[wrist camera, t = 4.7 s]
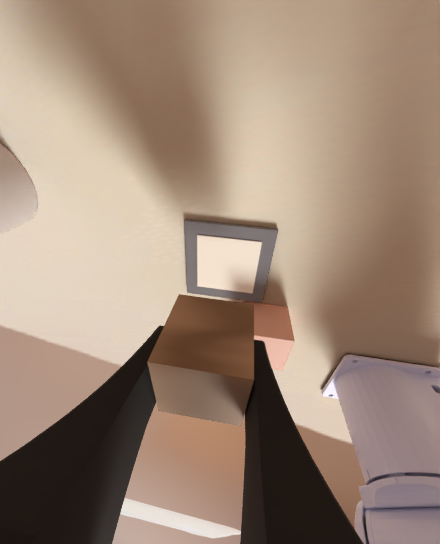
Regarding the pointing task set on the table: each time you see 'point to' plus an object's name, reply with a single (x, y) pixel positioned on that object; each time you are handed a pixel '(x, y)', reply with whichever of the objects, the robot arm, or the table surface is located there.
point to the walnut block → (205, 360)
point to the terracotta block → (273, 332)
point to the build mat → (228, 259)
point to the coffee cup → (15, 192)
